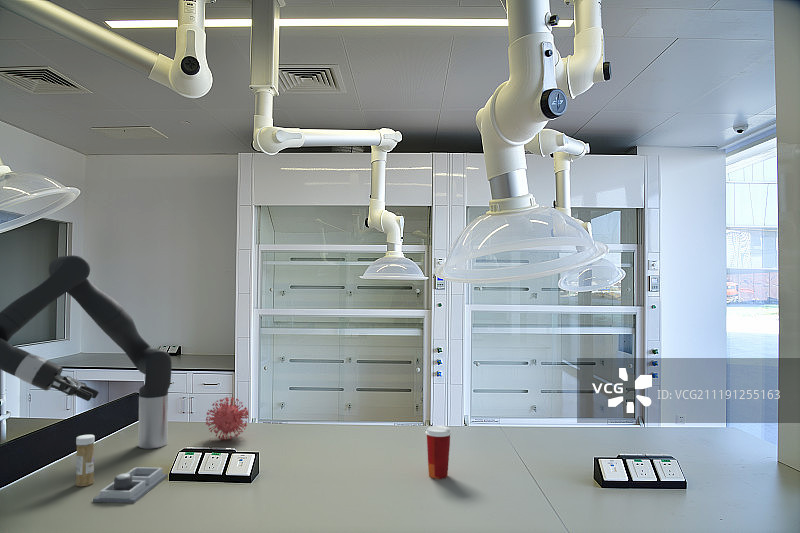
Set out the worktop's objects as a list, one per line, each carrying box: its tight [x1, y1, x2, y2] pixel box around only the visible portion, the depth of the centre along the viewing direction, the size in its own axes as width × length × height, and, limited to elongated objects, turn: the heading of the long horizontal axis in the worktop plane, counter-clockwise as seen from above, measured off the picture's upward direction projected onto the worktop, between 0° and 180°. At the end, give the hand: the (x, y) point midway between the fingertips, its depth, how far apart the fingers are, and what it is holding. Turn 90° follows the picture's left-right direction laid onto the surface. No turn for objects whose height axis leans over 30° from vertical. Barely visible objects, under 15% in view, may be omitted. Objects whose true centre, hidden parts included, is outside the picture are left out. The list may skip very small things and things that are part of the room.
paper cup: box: [424, 425, 452, 480], centre depth 171 cm, size 8×8×14 cm
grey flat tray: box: [92, 466, 168, 504], centre depth 158 cm, size 19×11×5 cm, turn 178°
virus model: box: [205, 396, 250, 440], centre depth 207 cm, size 15×15×15 cm
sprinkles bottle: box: [75, 434, 96, 487], centre depth 162 cm, size 5×5×14 cm
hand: (94, 396), depth 165 cm, fingers open, 8 cm apart
